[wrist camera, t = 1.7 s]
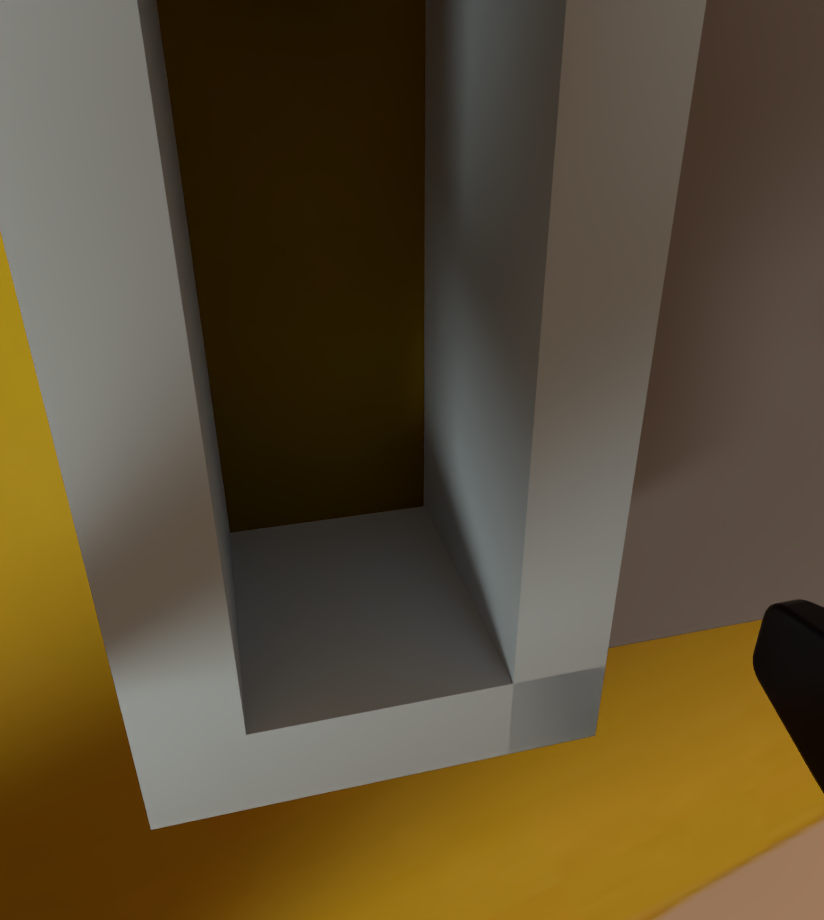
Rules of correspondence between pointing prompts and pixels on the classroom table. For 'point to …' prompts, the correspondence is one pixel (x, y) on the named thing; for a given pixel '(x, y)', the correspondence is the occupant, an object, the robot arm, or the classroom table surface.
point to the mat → (737, 342)
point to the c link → (445, 402)
